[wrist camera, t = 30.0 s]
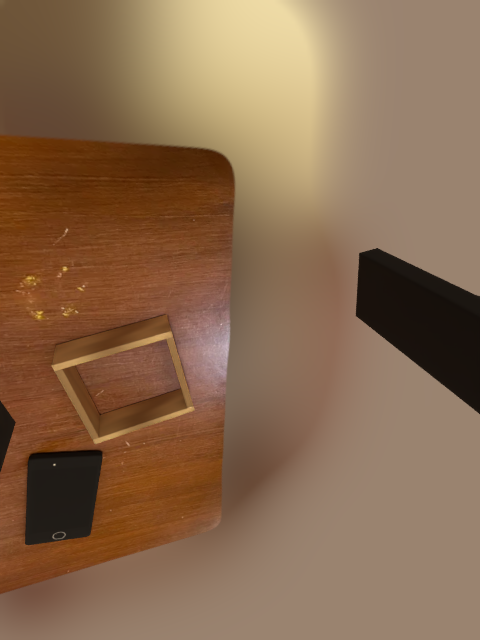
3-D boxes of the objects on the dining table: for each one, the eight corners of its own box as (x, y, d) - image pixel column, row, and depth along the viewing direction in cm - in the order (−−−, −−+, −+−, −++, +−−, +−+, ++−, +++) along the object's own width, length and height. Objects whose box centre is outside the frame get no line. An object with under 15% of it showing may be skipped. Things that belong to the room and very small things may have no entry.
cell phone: (26, 539, 52) (24, 546, 51) (29, 453, 44) (27, 459, 44) (90, 530, 55) (89, 536, 54) (102, 450, 48) (102, 455, 47)
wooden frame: (166, 314, 41) (171, 331, 38) (188, 390, 48) (194, 410, 45) (55, 344, 39) (51, 365, 35) (95, 420, 45) (94, 444, 42)
